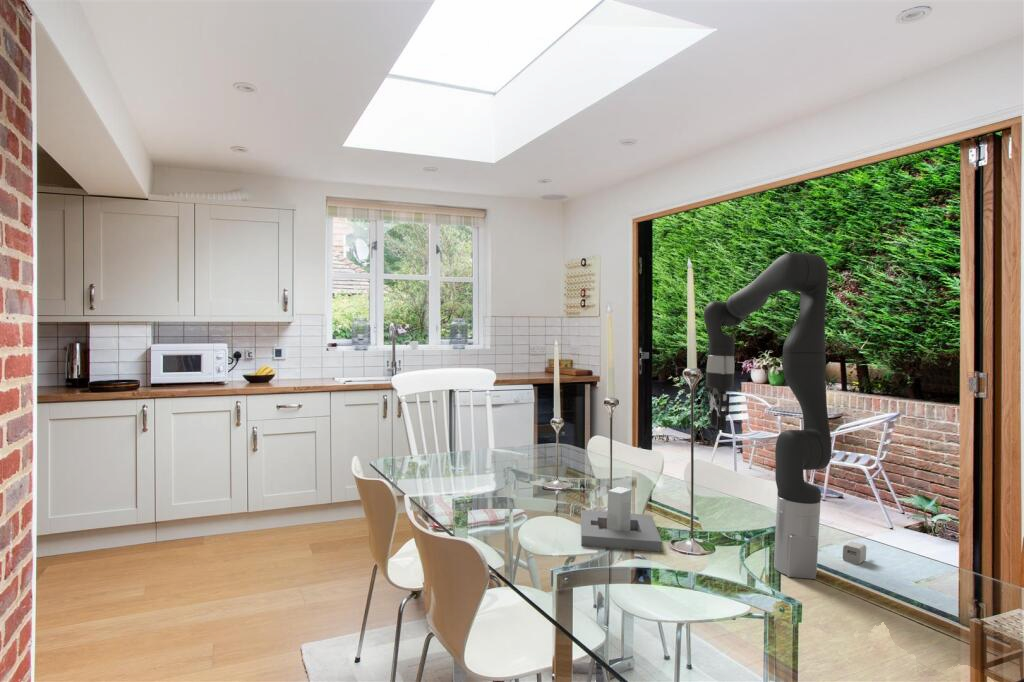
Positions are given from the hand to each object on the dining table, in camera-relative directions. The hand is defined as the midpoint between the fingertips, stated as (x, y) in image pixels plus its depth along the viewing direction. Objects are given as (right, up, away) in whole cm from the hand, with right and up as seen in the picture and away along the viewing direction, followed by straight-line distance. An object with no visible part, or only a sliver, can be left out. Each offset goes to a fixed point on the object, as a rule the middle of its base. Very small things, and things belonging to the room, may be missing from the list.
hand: (717, 427), depth 177 cm
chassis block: (-31, -27, -11) cm, 42 cm away
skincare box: (-31, -27, -11) cm, 43 cm away
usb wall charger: (+27, -30, -23) cm, 46 cm away
